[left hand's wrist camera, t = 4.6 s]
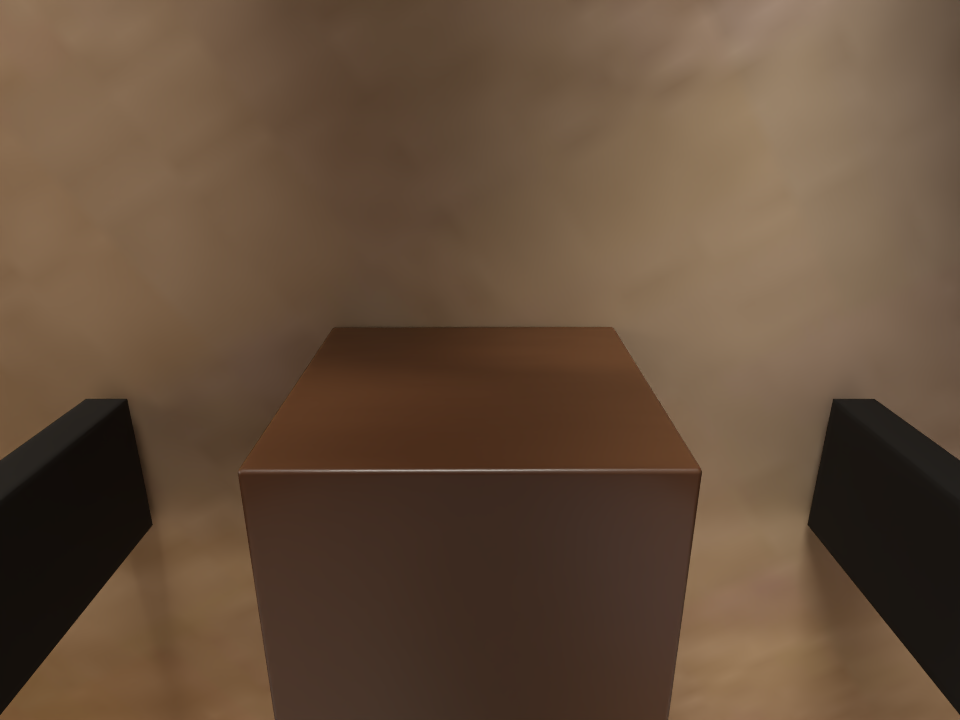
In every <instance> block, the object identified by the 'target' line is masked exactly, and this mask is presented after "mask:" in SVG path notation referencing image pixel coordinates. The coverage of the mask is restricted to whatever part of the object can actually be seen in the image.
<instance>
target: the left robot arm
mask: <svg viewBox="0 0 960 720" xmlns="http://www.w3.org/2000/svg"><path fill="white" fill-rule="evenodd" d="M152 525H153V524H152V519H151V514H150V509H149V504H148V499H147V495H146V490H145V485H144V480H143V475H142V470H141V465H140V460H139V455H138V450H137V445H136V441H135V436H134V431H133V426H132V421H131V416H130V411H129V406H128V401H127V399H85V400H84V401H82V402H81V403H80V404H78V405H77V406H76V407H74V408H73V409H71V410H70V411H69V412H67V413H66V414H64V415H63V416H62V417H60V418H59V419H57V420H56V421H55V422H53V423H52V424H50V425H49V426H48V427H46V428H45V429H44V430H42V431H41V432H39V433H38V434H37V435H35V436H34V437H32V438H31V439H30V440H28V441H27V442H25V443H24V444H23V445H21V446H20V447H18V448H17V449H16V450H14V451H13V452H12V453H10V454H9V455H7V456H6V457H5V458H3V459H2V460H0V715H1V713H2V712H3V711H4V710H5V708H6V707H7V706H8V705H9V703H10V702H11V701H12V700H13V698H14V697H15V696H16V695H17V693H18V692H19V691H20V690H21V688H22V687H23V686H24V685H25V683H26V682H27V681H28V680H29V678H30V677H31V676H32V675H33V673H34V672H35V671H36V670H37V668H38V667H39V666H40V665H41V663H42V662H43V661H44V660H45V658H46V657H47V656H48V655H49V653H50V652H51V651H52V650H53V648H54V647H55V646H56V645H57V643H58V642H59V641H60V640H61V638H62V637H63V636H64V635H65V634H66V632H67V631H68V630H69V629H70V627H71V626H72V625H73V624H74V622H75V621H76V620H77V619H78V617H79V616H80V615H81V614H82V612H83V611H84V610H85V609H86V607H87V606H88V605H89V604H90V602H91V601H92V600H93V599H94V597H95V596H96V595H97V594H98V592H99V591H100V590H101V589H102V587H103V586H104V585H105V584H106V582H107V581H108V580H109V579H110V577H111V576H112V575H113V574H114V572H115V571H116V570H117V569H118V567H119V566H120V565H121V564H122V562H123V561H124V560H125V559H126V557H127V556H128V555H129V554H130V552H131V551H132V550H133V549H134V547H135V546H136V545H137V544H138V542H139V541H140V540H141V539H142V537H143V536H144V535H145V534H146V532H147V531H148V530H149V529H150V527H151V526H152ZM808 526H809V527H810V528H811V530H812V531H813V532H814V533H815V535H816V536H817V537H818V538H819V540H820V541H821V542H822V543H823V545H824V546H825V547H826V548H827V550H828V551H829V552H830V553H831V555H832V556H833V557H834V558H835V560H836V561H837V562H838V563H839V565H840V566H841V567H842V568H843V570H844V571H845V572H846V573H847V575H848V576H849V577H850V578H851V580H852V581H853V582H854V583H855V585H856V586H857V587H858V588H859V590H860V591H861V592H862V593H863V595H864V596H865V597H866V598H867V600H868V601H869V602H870V603H871V604H872V606H873V607H874V608H875V609H876V611H877V612H878V613H879V614H880V616H881V617H882V618H883V619H884V621H885V622H886V623H887V624H888V626H889V627H890V628H891V629H892V631H893V632H894V633H895V634H896V636H897V637H898V638H899V639H900V641H901V642H902V643H903V644H904V646H905V647H906V648H907V649H908V651H909V652H910V653H911V654H912V656H913V657H914V658H915V659H916V661H917V662H918V663H919V664H920V666H921V667H922V668H923V669H924V671H925V672H926V673H927V674H928V676H929V677H930V678H931V679H932V681H933V682H934V683H935V684H936V686H937V687H938V688H939V689H940V691H941V692H942V693H943V694H944V696H945V697H946V698H947V699H948V701H949V702H950V703H951V704H952V706H953V707H954V708H955V709H956V711H957V712H958V713H959V714H960V460H958V459H957V458H956V457H954V456H953V455H952V454H950V453H949V452H947V451H946V450H945V449H943V448H942V447H940V446H939V445H938V444H936V443H935V442H933V441H932V440H931V439H929V438H928V437H926V436H925V435H924V434H922V433H921V432H919V431H918V430H917V429H915V428H914V427H913V426H911V425H910V424H908V423H907V422H906V421H904V420H903V419H901V418H900V417H899V416H897V415H896V414H894V413H893V412H892V411H890V410H889V409H887V408H886V407H885V406H883V405H882V404H881V403H879V402H878V401H876V400H875V399H833V403H832V408H831V412H830V417H829V422H828V427H827V432H826V437H825V442H824V447H823V452H822V457H821V462H820V466H819V471H818V476H817V481H816V486H815V491H814V496H813V501H812V506H811V511H810V516H809V520H808Z"/></svg>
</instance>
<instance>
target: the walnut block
mask: <svg viewBox="0 0 960 720" xmlns="http://www.w3.org/2000/svg"><path fill="white" fill-rule="evenodd" d="M701 474H702V471H701V468H700V467H699V465H698V463H697V462H696V460H695V459H694V457H693V455H692V454H691V452H690V450H689V449H688V447H687V446H686V444H685V442H684V441H683V439H682V438H681V436H680V434H679V433H678V431H677V430H676V428H675V426H674V425H673V423H672V422H671V420H670V418H669V417H668V415H667V413H666V412H665V410H664V409H663V407H662V405H661V404H660V402H659V401H658V399H657V397H656V396H655V394H654V393H653V391H652V389H651V388H650V386H649V385H648V383H647V381H646V380H645V378H644V376H643V375H642V373H641V372H640V370H639V368H638V367H637V365H636V364H635V362H634V360H633V359H632V357H631V356H630V354H629V352H628V351H627V349H626V348H625V346H624V344H623V343H622V341H621V339H620V338H619V336H618V335H617V333H616V331H615V330H614V328H612V327H422V328H333V329H332V331H331V332H330V334H329V335H328V337H327V338H326V340H325V341H324V343H323V344H322V346H321V347H320V349H319V350H318V352H317V353H316V355H315V356H314V358H313V359H312V361H311V362H310V364H309V365H308V367H307V368H306V370H305V371H304V373H303V374H302V376H301V377H300V379H299V380H298V382H297V383H296V385H295V386H294V388H293V389H292V391H291V392H290V394H289V395H288V397H287V398H286V400H285V401H284V403H283V404H282V406H281V407H280V409H279V410H278V412H277V413H276V415H275V416H274V418H273V419H272V421H271V422H270V424H269V425H268V427H267V428H266V430H265V431H264V433H263V434H262V436H261V437H260V439H259V440H258V442H257V443H256V445H255V446H254V448H253V449H252V451H251V452H250V454H249V455H248V457H247V458H246V460H245V461H244V463H243V464H242V466H241V467H240V469H239V471H238V476H239V483H240V489H241V496H242V503H243V509H244V516H245V523H246V529H247V536H248V543H249V549H250V556H251V563H252V569H253V576H254V583H255V589H256V596H257V603H258V610H259V616H260V623H261V630H262V636H263V643H264V650H265V656H266V663H267V670H268V676H269V683H270V690H271V696H272V703H273V710H274V716H275V720H668V717H669V709H670V702H671V695H672V687H673V680H674V673H675V665H676V658H677V651H678V643H679V636H680V629H681V621H682V614H683V607H684V599H685V592H686V585H687V577H688V570H689V563H690V555H691V548H692V541H693V533H694V526H695V518H696V511H697V504H698V496H699V489H700V482H701Z"/></svg>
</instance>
